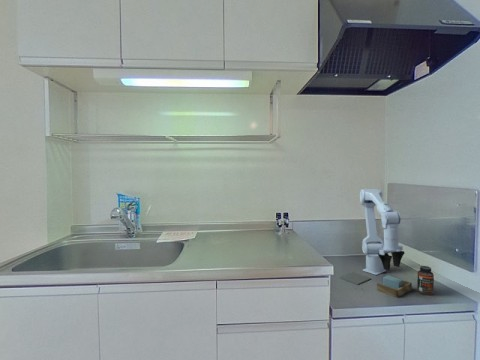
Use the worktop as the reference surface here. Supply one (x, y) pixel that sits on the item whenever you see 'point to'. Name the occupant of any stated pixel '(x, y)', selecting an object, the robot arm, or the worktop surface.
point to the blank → (392, 282)
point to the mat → (355, 278)
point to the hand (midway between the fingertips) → (391, 268)
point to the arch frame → (395, 292)
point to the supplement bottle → (425, 281)
